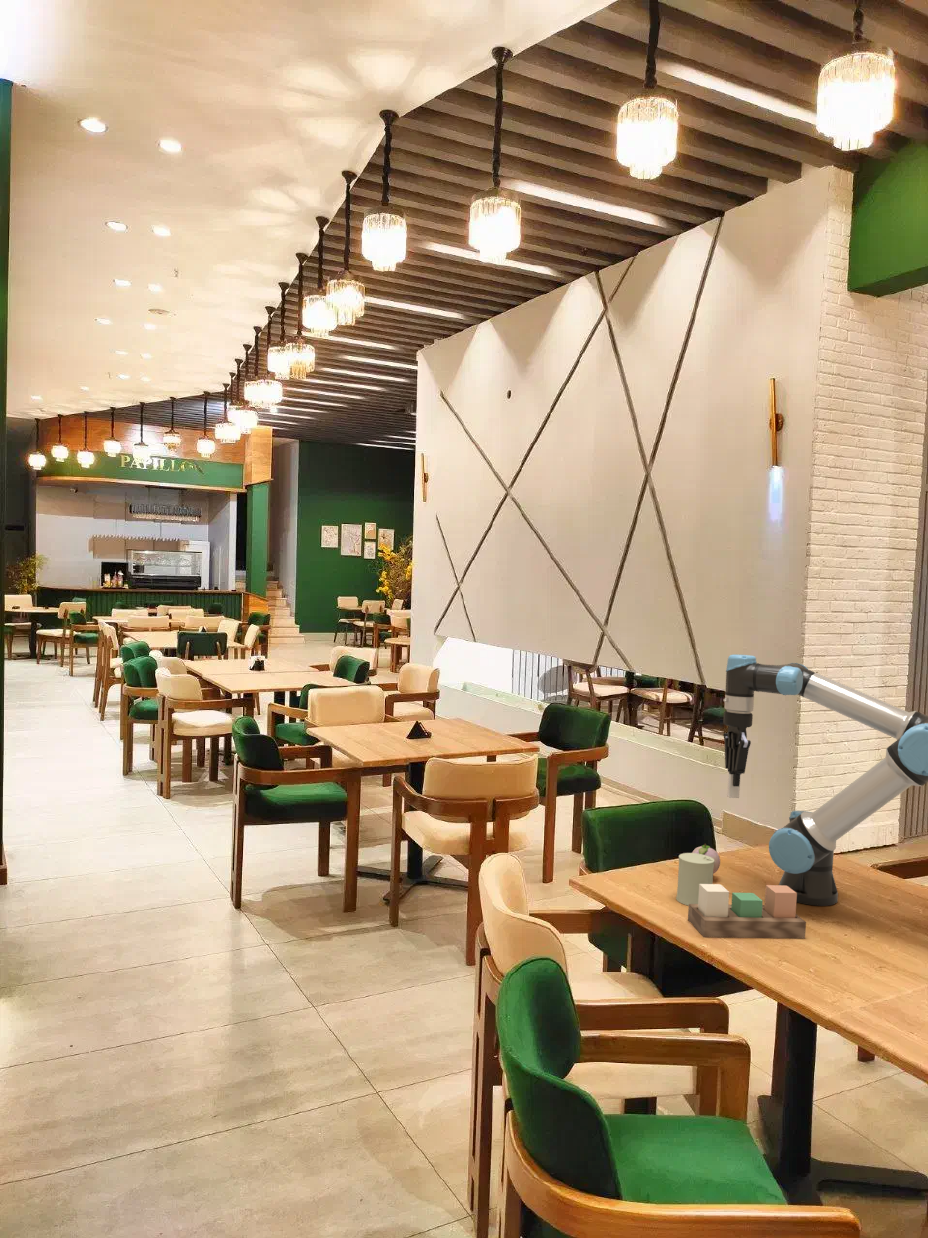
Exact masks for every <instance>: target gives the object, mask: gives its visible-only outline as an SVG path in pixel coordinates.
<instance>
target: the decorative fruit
mask: <svg viewBox="0 0 928 1238" xmlns="http://www.w3.org/2000/svg"><path fill="white" fill-rule="evenodd" d="M691 853H697V854H703V855H707V856H709V857H711V858H713V859H714V868H713V875H714V874H716V872H717V871H718V870H719V869H720V867H721V858H720V857H721V856H720V855H719V854H718V852H717V851H716V850H715V849H714V848H712V847H711V846H710V845H707V844H706V843H704V844H703V845H701V846H698V847H695V848H694V850H693V851H692V852H691Z"/></svg>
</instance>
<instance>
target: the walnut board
mask: <svg viewBox="0 0 928 1238" xmlns="http://www.w3.org/2000/svg"><path fill="white" fill-rule="evenodd" d="M764 906H765V904H762V918H753V917H738V916H737V915H736V914H735V913H734V912H733V911H732V910H731V904H728V917H705V916H704V915H703V914H702V913H701V912H700V911H699V910H698V904H689V906H688V912H687V921H688V922H691V923H692V924H693V925H692V924H691V923H690V924H691V925H692V926H693V927H694V929H696V931H698V933H700V935H702V937H703V938H733V937H734V938H733V939H735V938H738V939H739V938H740V939H741V938H743V939H744V938H745V939H748V938H749V939H753V938H755V939H806V927H807V922H806V921H805V920H804V918H802V917H800V916H799V915H798V914H797V913H796V916H795V918H773V917H772V916H770V915H769V914H768V913H767V912H766V911H764Z"/></svg>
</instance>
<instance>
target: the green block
mask: <svg viewBox="0 0 928 1238" xmlns="http://www.w3.org/2000/svg"><path fill="white" fill-rule="evenodd" d="M763 902H764V900H762V899H761V898H760V897H759V896H758V895H756V894H755V892H731V903H730V905H731V910H732V911H733V912H734V913H735V914H736V915H737V916H738V917H753V918H762V905H763Z"/></svg>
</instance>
